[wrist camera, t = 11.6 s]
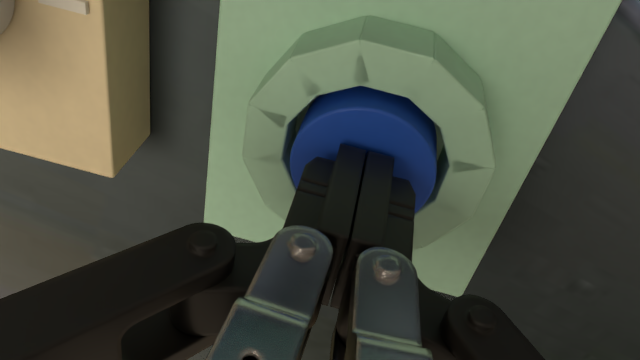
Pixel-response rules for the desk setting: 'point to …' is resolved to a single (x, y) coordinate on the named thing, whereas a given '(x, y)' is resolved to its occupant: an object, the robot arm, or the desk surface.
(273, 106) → the green push-button base
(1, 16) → the dial
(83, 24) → the panel
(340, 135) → the button
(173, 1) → the desk surface
